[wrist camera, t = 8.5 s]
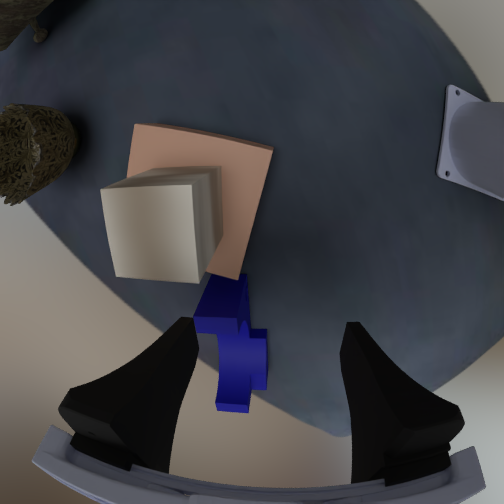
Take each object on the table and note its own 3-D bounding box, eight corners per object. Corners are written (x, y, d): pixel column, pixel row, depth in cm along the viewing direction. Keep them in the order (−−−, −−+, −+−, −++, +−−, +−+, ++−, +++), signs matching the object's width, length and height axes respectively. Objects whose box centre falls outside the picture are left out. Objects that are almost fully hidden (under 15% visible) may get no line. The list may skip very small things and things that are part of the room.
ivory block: (221, 165, 16) (191, 184, 11) (223, 235, 18) (199, 283, 13) (153, 168, 16) (100, 189, 11) (159, 233, 18) (116, 276, 13)
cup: (48, 103, 18) (-15, 110, 10) (104, 98, 18) (36, 97, 10) (45, 177, 21) (-14, 201, 14) (98, 183, 21) (35, 212, 14)
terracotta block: (273, 146, 19) (273, 151, 15) (244, 255, 23) (237, 280, 19) (159, 123, 19) (134, 123, 15) (144, 227, 23) (121, 246, 19)
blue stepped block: (268, 368, 28) (264, 413, 23) (227, 367, 29) (217, 410, 23) (264, 273, 23) (259, 318, 18) (212, 273, 24) (193, 316, 18)
